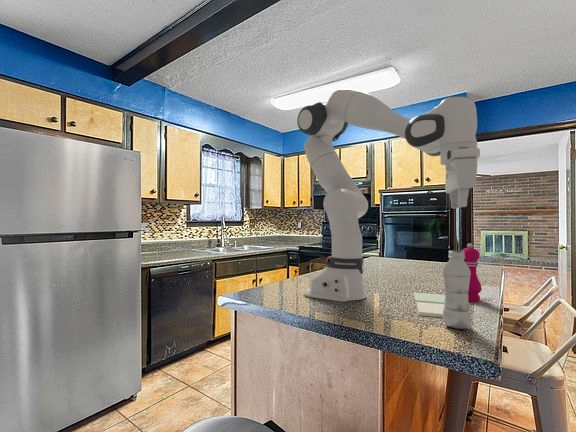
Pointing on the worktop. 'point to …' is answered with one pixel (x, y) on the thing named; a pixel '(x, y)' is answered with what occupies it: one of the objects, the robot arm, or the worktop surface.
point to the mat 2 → (430, 309)
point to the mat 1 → (429, 298)
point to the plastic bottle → (456, 291)
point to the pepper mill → (472, 273)
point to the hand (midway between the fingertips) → (458, 207)
